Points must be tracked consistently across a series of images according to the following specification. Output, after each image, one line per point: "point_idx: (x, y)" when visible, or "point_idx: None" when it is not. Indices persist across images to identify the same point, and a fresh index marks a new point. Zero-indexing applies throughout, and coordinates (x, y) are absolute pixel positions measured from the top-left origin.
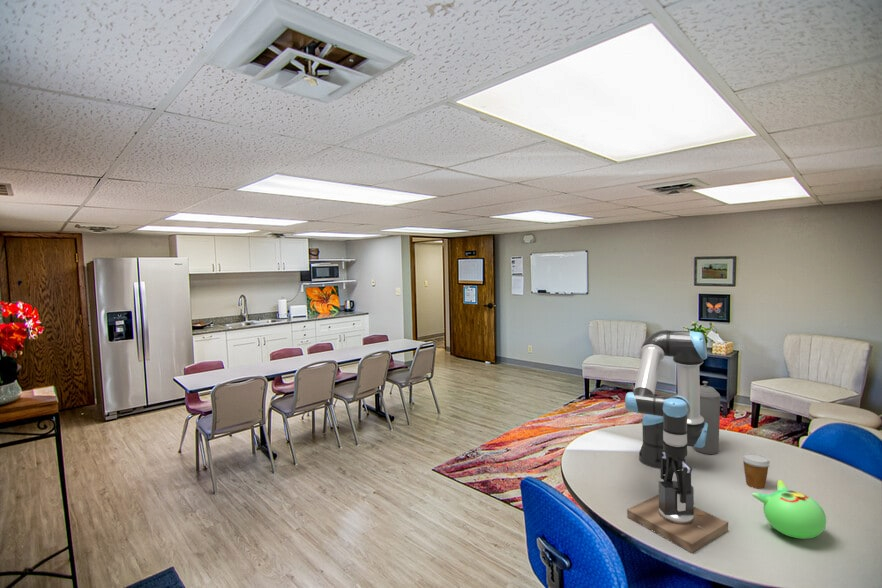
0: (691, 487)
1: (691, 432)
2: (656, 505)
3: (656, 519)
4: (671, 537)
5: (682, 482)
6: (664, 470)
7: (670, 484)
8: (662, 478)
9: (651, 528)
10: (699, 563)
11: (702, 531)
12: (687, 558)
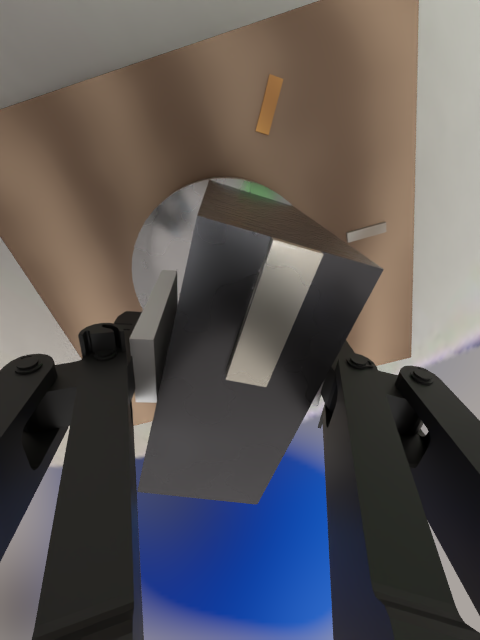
0: (367, 291)
1: None
2: (111, 297)
3: None
4: None
5: (444, 547)
6: (7, 515)
7: (224, 446)
8: (67, 426)
9: None
10: (435, 350)
11: (383, 249)
12: (399, 366)
